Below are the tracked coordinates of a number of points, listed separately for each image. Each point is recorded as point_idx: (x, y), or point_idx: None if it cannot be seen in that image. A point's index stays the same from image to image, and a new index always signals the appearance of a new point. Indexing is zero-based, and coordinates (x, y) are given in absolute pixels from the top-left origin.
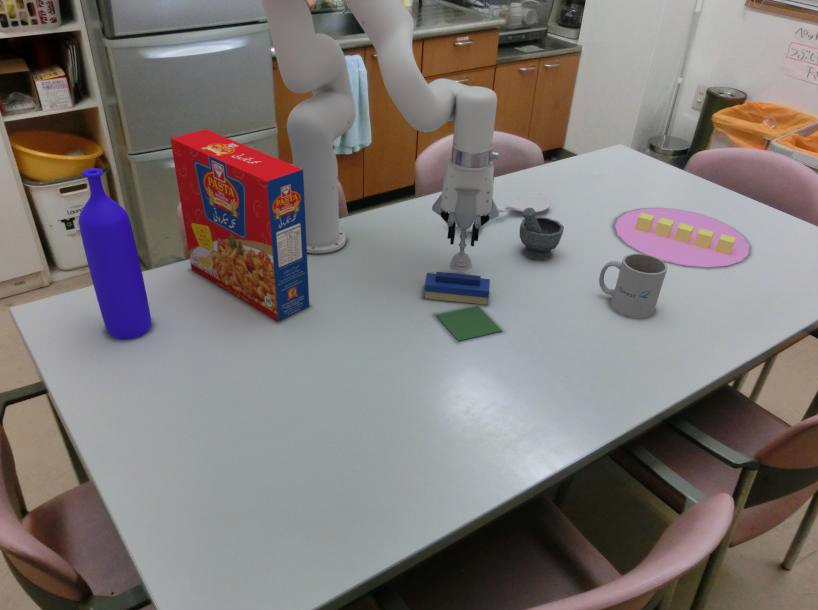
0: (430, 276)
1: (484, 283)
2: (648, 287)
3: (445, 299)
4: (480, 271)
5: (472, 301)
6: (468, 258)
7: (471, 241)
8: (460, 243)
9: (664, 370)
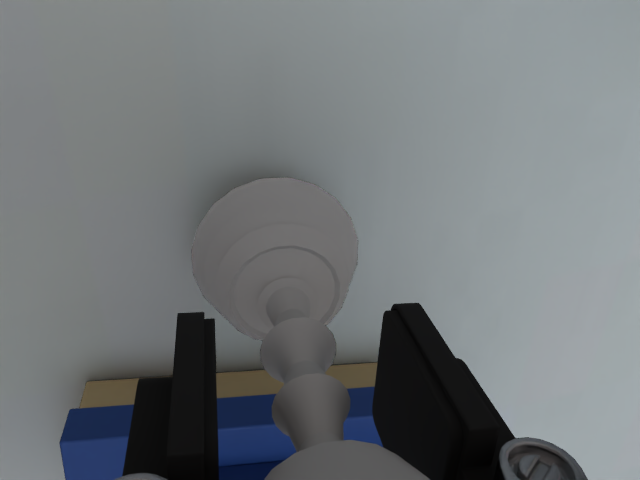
0: (91, 473)
1: None
2: None
3: None
4: (401, 129)
5: None
6: (338, 307)
7: (388, 448)
8: (280, 377)
9: None
